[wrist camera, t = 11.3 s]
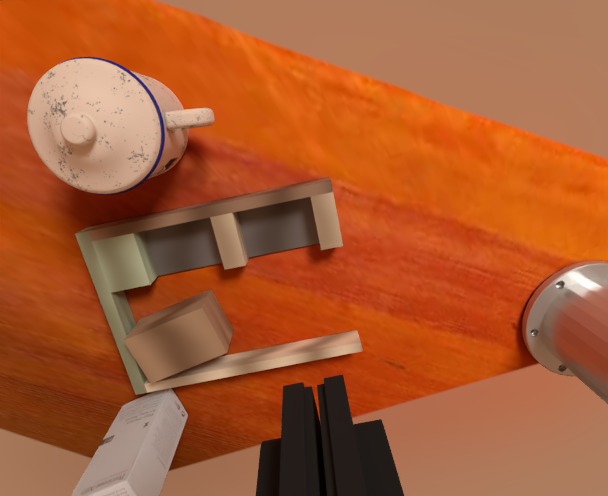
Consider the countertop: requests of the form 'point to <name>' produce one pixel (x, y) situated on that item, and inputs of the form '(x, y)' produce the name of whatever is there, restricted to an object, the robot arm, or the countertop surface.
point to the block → (180, 336)
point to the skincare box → (136, 448)
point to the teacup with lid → (108, 125)
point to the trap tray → (209, 251)
